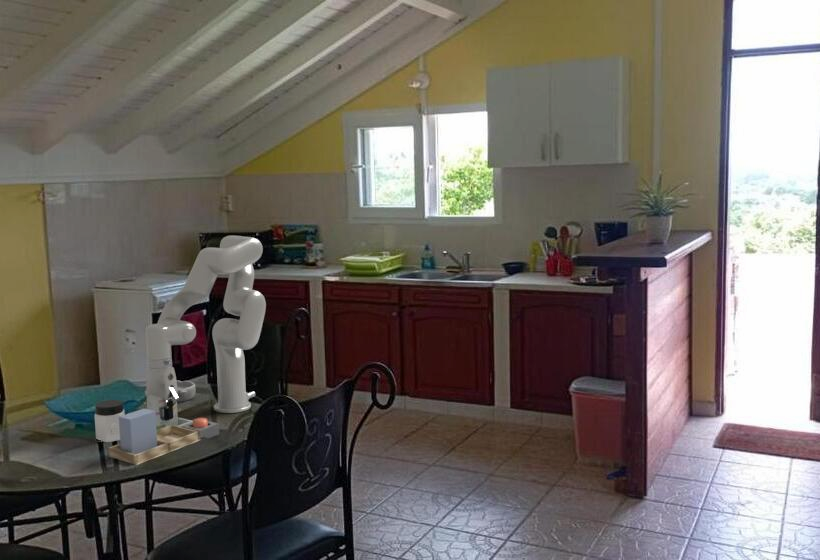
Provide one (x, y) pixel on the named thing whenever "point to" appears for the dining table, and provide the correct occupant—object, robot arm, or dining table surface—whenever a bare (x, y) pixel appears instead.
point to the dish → (185, 390)
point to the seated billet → (138, 431)
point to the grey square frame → (205, 429)
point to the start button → (200, 423)
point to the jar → (108, 420)
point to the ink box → (161, 411)
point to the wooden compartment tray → (158, 444)
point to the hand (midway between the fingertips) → (162, 417)
